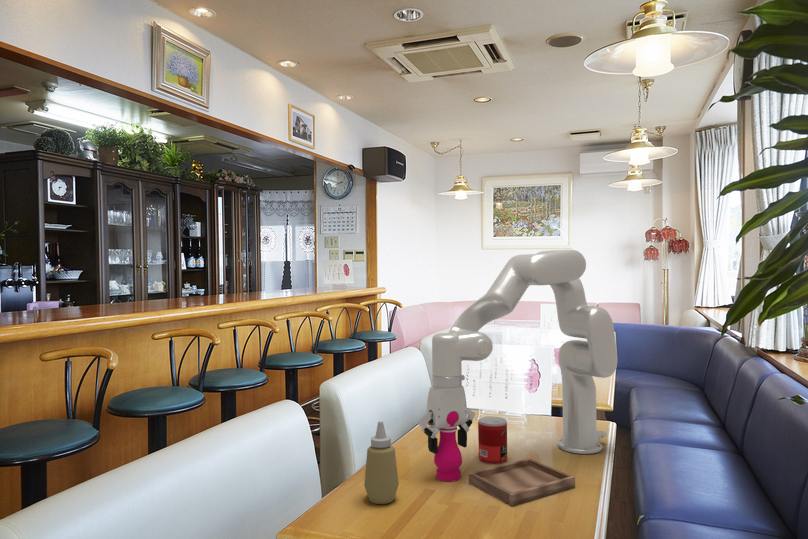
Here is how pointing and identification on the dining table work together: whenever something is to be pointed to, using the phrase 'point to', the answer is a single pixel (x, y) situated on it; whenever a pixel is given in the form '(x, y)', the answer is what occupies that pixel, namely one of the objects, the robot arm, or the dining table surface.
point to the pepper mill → (448, 451)
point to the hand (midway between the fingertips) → (447, 449)
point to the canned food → (492, 439)
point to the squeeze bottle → (381, 468)
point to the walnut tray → (521, 481)
